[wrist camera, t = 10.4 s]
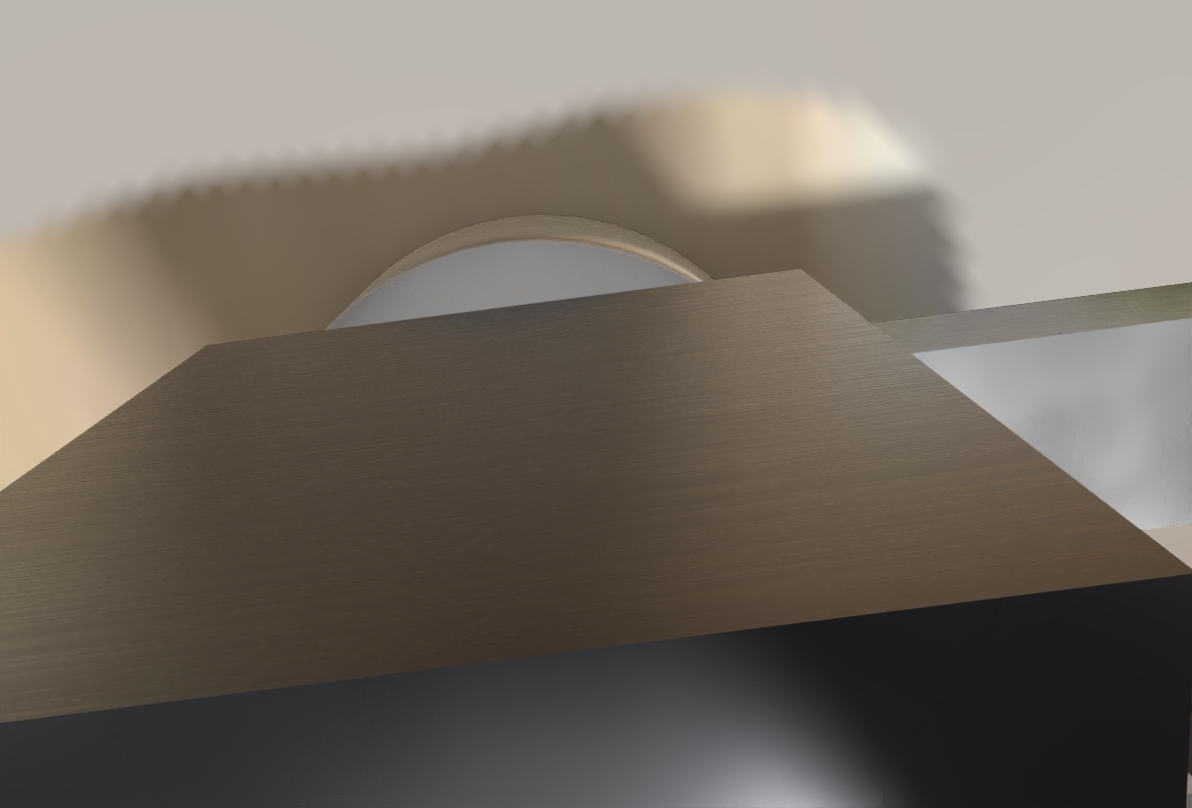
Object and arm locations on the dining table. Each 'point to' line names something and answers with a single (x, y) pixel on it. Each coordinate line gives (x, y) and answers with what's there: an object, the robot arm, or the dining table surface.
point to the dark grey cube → (581, 578)
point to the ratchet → (943, 342)
